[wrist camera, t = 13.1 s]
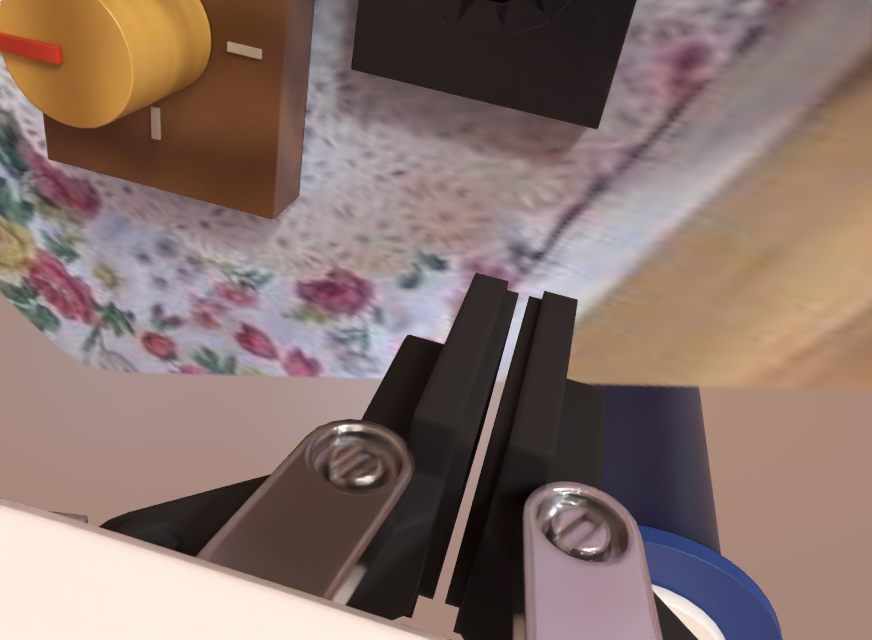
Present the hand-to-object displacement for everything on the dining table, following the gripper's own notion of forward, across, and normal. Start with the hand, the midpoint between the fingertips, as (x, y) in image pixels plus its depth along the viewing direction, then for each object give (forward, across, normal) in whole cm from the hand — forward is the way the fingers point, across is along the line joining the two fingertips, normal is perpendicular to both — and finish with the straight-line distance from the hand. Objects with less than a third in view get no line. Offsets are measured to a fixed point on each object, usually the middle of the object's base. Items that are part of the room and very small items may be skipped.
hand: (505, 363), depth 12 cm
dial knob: (+18, +17, +1) cm, 25 cm away
